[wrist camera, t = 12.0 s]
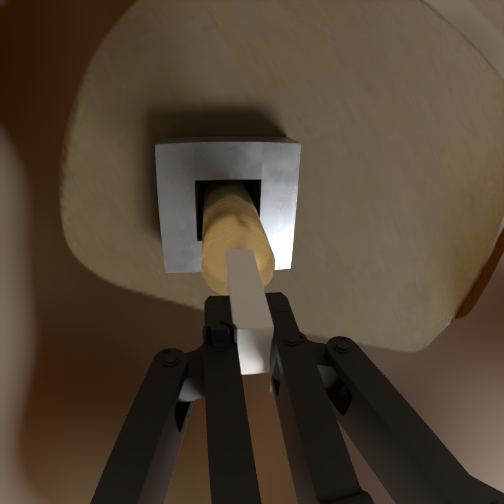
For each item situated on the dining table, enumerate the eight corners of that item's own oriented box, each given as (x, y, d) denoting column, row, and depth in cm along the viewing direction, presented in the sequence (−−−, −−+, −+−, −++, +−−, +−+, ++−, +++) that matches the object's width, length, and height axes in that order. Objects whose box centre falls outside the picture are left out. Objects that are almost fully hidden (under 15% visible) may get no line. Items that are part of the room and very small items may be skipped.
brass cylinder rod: (203, 174, 29) (199, 234, 17) (248, 174, 30) (277, 232, 18) (204, 216, 31) (203, 299, 19) (247, 215, 32) (273, 295, 20)
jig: (163, 138, 27) (154, 144, 23) (288, 137, 29) (300, 143, 25) (170, 251, 33) (165, 272, 29) (280, 247, 34) (290, 268, 30)
